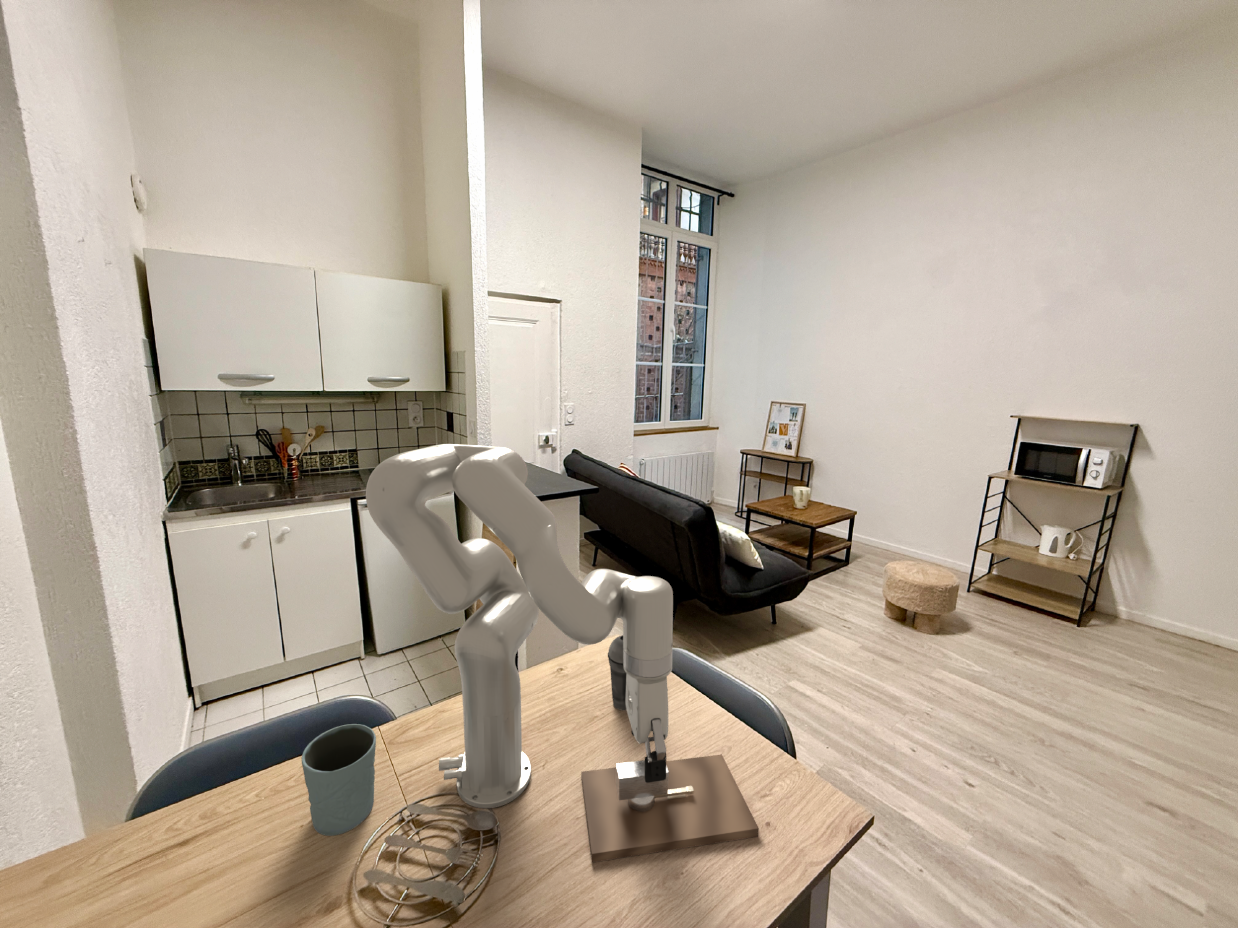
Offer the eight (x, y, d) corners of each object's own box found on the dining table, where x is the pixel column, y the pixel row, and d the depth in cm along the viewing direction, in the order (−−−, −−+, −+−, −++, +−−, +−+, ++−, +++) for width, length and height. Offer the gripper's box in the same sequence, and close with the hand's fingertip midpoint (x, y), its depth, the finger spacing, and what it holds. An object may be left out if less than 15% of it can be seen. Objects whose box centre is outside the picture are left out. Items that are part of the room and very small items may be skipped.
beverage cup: (641, 693, 108) (643, 610, 105) (639, 716, 101) (642, 628, 98) (608, 691, 109) (610, 608, 105) (604, 713, 102) (606, 625, 98)
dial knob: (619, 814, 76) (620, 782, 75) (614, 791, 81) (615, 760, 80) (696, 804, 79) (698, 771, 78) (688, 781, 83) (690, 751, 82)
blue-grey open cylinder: (317, 793, 81) (310, 730, 79) (384, 778, 84) (379, 717, 82) (300, 849, 72) (292, 779, 69) (376, 829, 75) (371, 762, 73)
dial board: (591, 862, 71) (591, 852, 70) (581, 777, 86) (581, 768, 85) (758, 836, 75) (758, 827, 75) (720, 759, 90) (721, 751, 90)
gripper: (614, 631, 82) (615, 721, 85) (635, 696, 66) (636, 805, 69) (657, 627, 84) (656, 715, 87) (689, 689, 67) (687, 797, 70)
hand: (647, 755), depth 78 cm, fingers open, 9 cm apart
